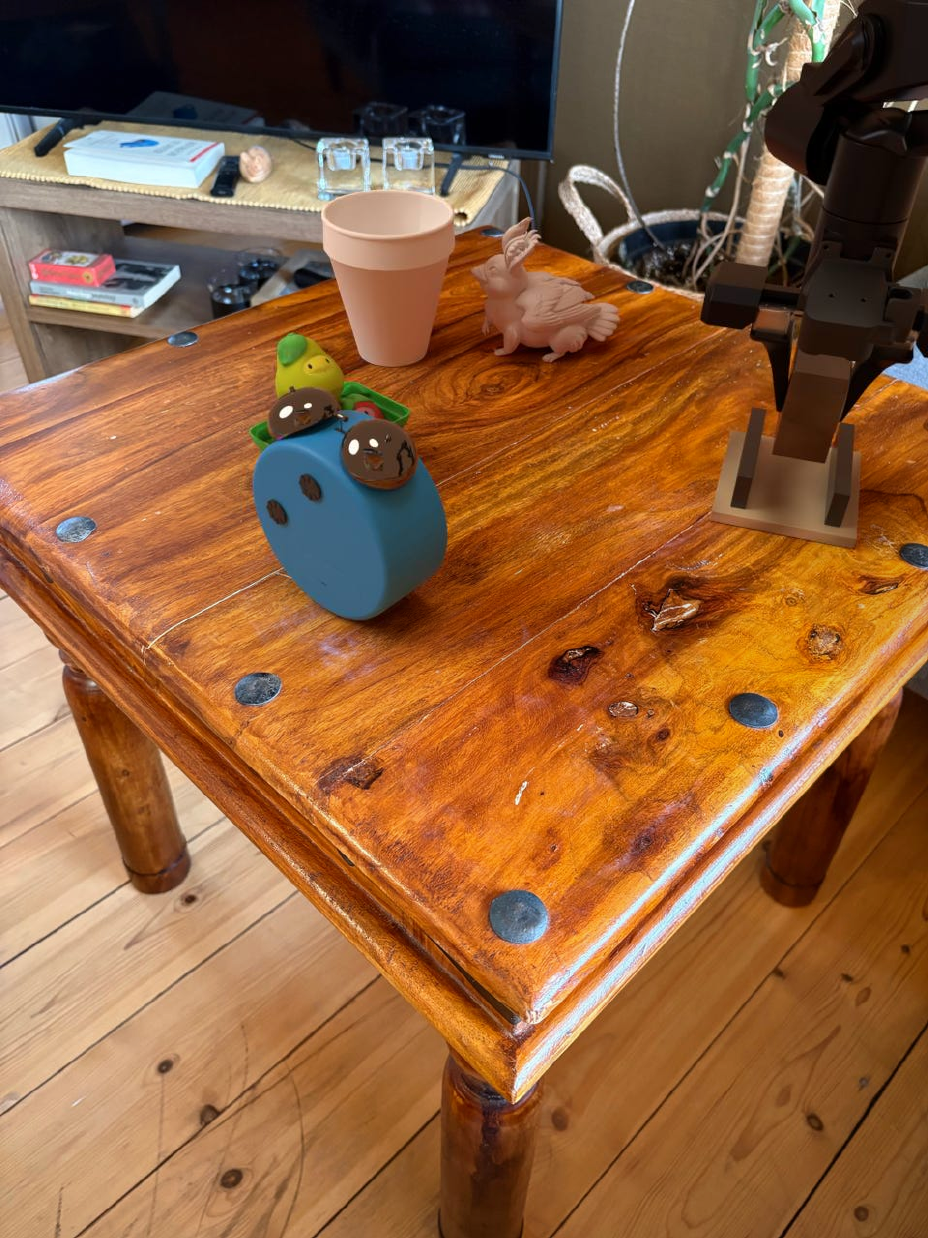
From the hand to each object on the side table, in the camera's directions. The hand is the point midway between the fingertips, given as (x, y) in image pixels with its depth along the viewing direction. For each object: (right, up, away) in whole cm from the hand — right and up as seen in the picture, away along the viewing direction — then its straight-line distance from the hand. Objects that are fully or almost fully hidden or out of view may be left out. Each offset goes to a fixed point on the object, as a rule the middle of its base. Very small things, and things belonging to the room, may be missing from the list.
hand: (808, 414), depth 77 cm
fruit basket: (-38, -4, +6) cm, 39 cm away
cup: (-34, +11, +22) cm, 42 cm away
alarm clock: (-35, -14, -6) cm, 38 cm away
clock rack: (0, -5, +5) cm, 7 cm away
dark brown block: (0, -2, +1) cm, 2 cm away
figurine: (-19, +11, +23) cm, 32 cm away
